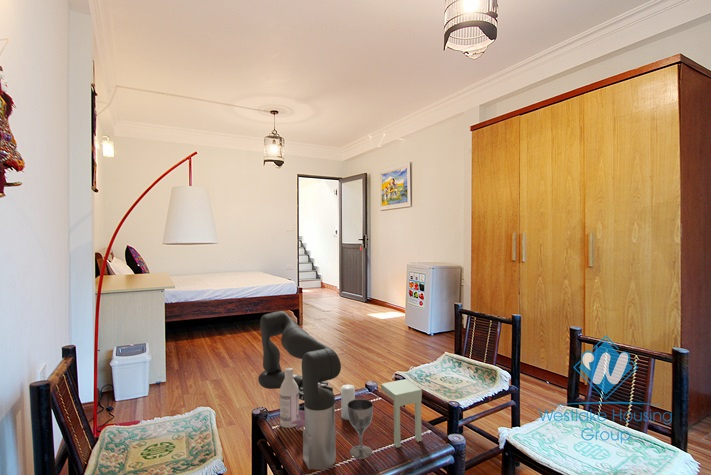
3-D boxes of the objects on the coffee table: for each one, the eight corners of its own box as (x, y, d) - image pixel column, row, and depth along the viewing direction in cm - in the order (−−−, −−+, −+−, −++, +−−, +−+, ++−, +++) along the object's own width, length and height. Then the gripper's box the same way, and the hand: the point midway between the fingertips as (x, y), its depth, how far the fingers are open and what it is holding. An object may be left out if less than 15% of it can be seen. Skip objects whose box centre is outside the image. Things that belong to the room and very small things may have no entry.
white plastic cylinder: (344, 420, 134) (343, 391, 134) (339, 414, 138) (339, 385, 139) (357, 418, 136) (356, 388, 136) (352, 412, 141) (351, 383, 141)
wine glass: (374, 445, 118) (373, 399, 118) (372, 460, 110) (372, 410, 110) (349, 444, 118) (349, 398, 118) (346, 459, 110) (346, 409, 111)
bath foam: (294, 417, 137) (293, 364, 137) (302, 424, 132) (301, 369, 132) (276, 422, 133) (276, 368, 133) (285, 430, 128) (284, 373, 128)
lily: (332, 434, 127) (327, 404, 131) (321, 437, 116) (315, 405, 121) (301, 442, 128) (297, 413, 133) (287, 446, 118) (282, 414, 122)
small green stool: (396, 448, 116) (395, 395, 116) (381, 433, 125) (381, 383, 125) (422, 441, 120) (421, 389, 120) (406, 426, 129) (406, 379, 129)
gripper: (283, 381, 146) (312, 390, 136) (308, 370, 157) (336, 378, 147) (283, 399, 146) (312, 410, 136) (308, 387, 157) (337, 397, 147)
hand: (325, 394), depth 142 cm, fingers open, 8 cm apart
